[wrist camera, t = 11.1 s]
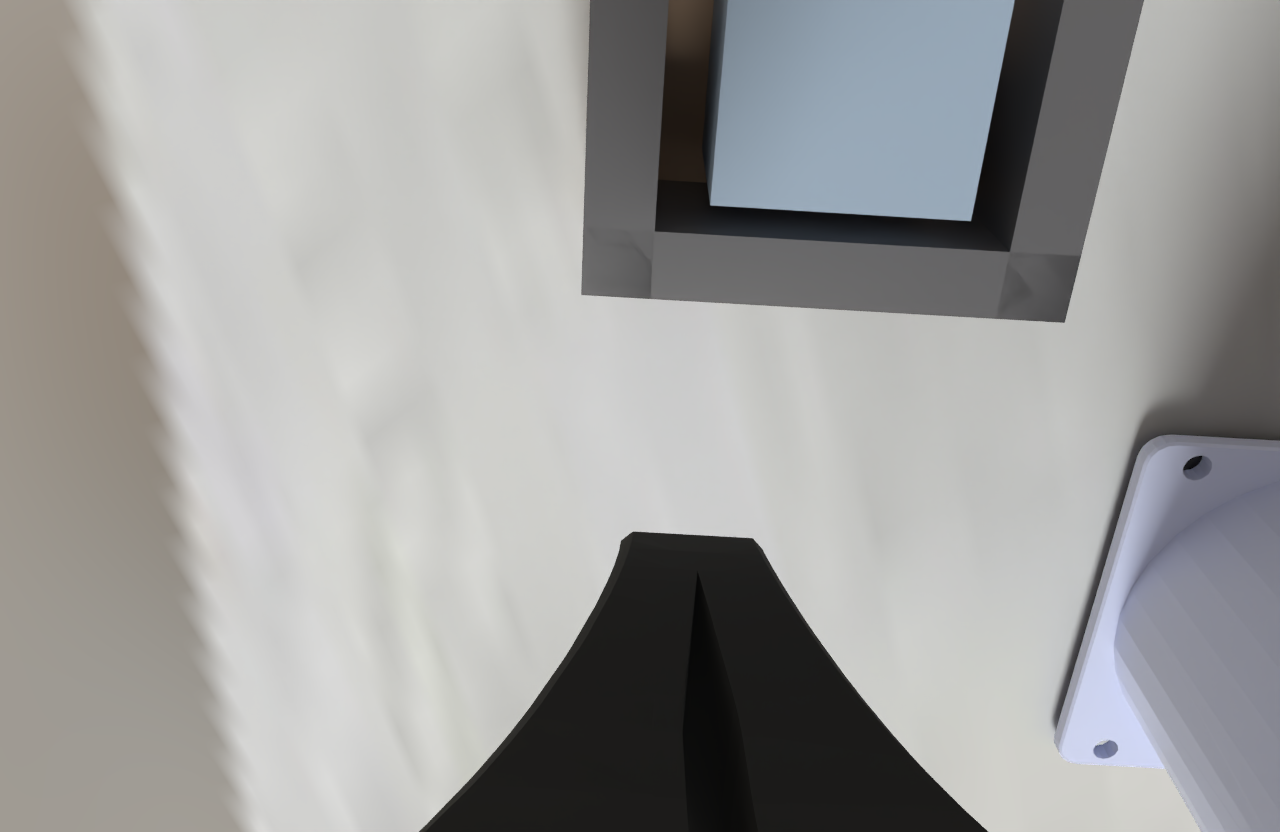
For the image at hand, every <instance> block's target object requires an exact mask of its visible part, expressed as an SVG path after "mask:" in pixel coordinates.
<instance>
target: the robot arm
mask: <svg viewBox="0 0 1280 832" xmlns="http://www.w3.org/2000/svg"><path fill="white" fill-rule="evenodd" d="M1196 456H1202V460H1201V461H1200V463H1199V465H1197V466H1196V467H1194V468H1193V469H1189V470H1183V467H1184V465H1185V464H1186V462H1187V461H1188V460H1190V459H1191V458H1193V457H1196ZM1105 740H1109V741H1108V742H1106V743H1105V744H1103V745H1097V746H1096V744H1098V743H1099V742H1101V741H1105ZM1054 743H1055V745H1056V747H1057V749H1058V751H1059V753H1060V755H1061V757H1062V758H1063V759H1065V760H1066V761H1068V762H1071V763H1075V764H1090V765H1108V766H1126V767H1145V768H1163V769H1166V771H1167V772H1168V774H1169V776H1170V778H1171V779H1172V781H1173V783H1174V785H1175V786H1176V788H1177V790H1178V792H1179V793H1180V795H1181V797H1182V799H1183V800H1184V802H1185V804H1186V806H1187V807H1188V809H1189V811H1190V813H1191V814H1192V816H1193V818H1194V820H1195V821H1196V823H1197V825H1198V827H1199V828H1200V830H1201V832H1280V441H1276V440H1258V439H1241V438H1223V437H1206V436H1188V435H1162V436H1158V437H1156V438H1154V439H1152V440H1150V441H1148V442H1147V443H1146V444H1145V445H1144V446H1143V447H1142V448H1141V450H1140V452H1139V454H1138V456H1137V459H1136V462H1135V466H1134V469H1133V472H1132V476H1131V479H1130V482H1129V486H1128V489H1127V493H1126V496H1125V499H1124V503H1123V506H1122V509H1121V513H1120V516H1119V520H1118V523H1117V526H1116V530H1115V533H1114V536H1113V540H1112V543H1111V547H1110V550H1109V553H1108V557H1107V560H1106V563H1105V567H1104V570H1103V574H1102V577H1101V580H1100V584H1099V587H1098V590H1097V594H1096V597H1095V601H1094V604H1093V607H1092V611H1091V614H1090V617H1089V621H1088V624H1087V628H1086V631H1085V634H1084V638H1083V641H1082V644H1081V648H1080V651H1079V655H1078V658H1077V661H1076V665H1075V668H1074V671H1073V675H1072V678H1071V682H1070V685H1069V688H1068V692H1067V695H1066V698H1065V702H1064V705H1063V709H1062V712H1061V715H1060V719H1059V722H1058V725H1057V729H1056V732H1055V736H1054ZM419 832H988V831H987V830H986V829H985V828H984V827H982V826H981V825H980V824H979V823H978V822H977V821H976V820H975V819H974V818H973V817H972V816H970V815H969V814H968V813H967V812H966V811H965V810H964V809H963V808H962V807H961V806H960V805H959V804H958V803H957V802H956V801H955V800H954V799H953V798H952V797H951V796H950V795H949V794H948V793H947V792H946V791H945V790H944V789H943V788H942V787H941V786H940V785H939V784H938V783H937V782H936V781H935V780H934V779H933V778H932V777H931V776H930V775H929V774H928V773H927V772H926V771H925V770H924V769H923V768H922V767H921V766H920V765H919V764H918V762H917V761H916V760H915V759H914V758H913V757H912V756H911V755H910V754H909V753H908V751H907V750H906V749H905V748H904V747H903V746H902V745H901V744H900V742H899V741H898V740H897V739H896V738H895V737H894V736H893V735H892V733H891V732H890V731H889V730H888V729H887V727H886V726H885V725H884V724H883V723H882V721H881V720H880V719H879V718H878V717H877V715H876V714H875V713H874V712H873V711H872V709H871V708H870V707H869V706H868V705H867V703H866V702H865V701H864V700H863V698H862V697H861V696H860V695H859V693H858V692H857V691H856V689H855V688H854V687H853V686H852V684H851V683H850V682H849V681H848V679H847V678H846V677H845V675H844V674H843V673H842V671H841V670H840V668H839V667H838V666H837V664H836V663H835V662H834V660H833V659H832V657H831V656H830V655H829V653H828V652H827V651H826V649H825V648H824V646H823V645H822V644H821V642H820V641H819V640H818V638H817V637H816V635H815V634H814V632H813V631H812V630H811V628H810V627H809V625H808V624H807V622H806V621H805V619H804V618H803V616H802V615H801V613H800V612H799V610H798V609H797V607H796V605H795V604H794V602H793V601H792V599H791V598H790V596H789V595H788V593H787V591H786V590H785V588H784V586H783V585H782V583H781V582H780V580H779V578H778V576H777V575H776V573H775V571H774V570H773V568H772V566H771V564H770V563H769V561H768V559H767V557H766V555H765V554H764V552H763V550H762V548H761V547H760V546H759V545H758V544H757V543H756V542H755V540H754V539H753V538H737V537H719V536H701V535H683V534H666V533H648V532H632V533H631V534H629V535H628V536H627V537H625V538H624V539H623V540H621V544H620V550H619V553H618V556H617V559H616V562H615V565H614V568H613V570H612V572H611V575H610V577H609V579H608V582H607V584H606V586H605V588H604V590H603V592H602V594H601V596H600V598H599V600H598V602H597V604H596V606H595V608H594V609H593V611H592V613H591V614H590V616H589V618H588V620H587V621H586V623H585V625H584V627H583V628H582V630H581V632H580V633H579V635H578V637H577V639H576V640H575V642H574V644H573V645H572V647H571V649H570V650H569V652H568V653H567V655H566V657H565V658H564V660H563V661H562V663H561V664H560V665H559V667H558V668H557V670H556V671H555V673H554V674H553V675H552V677H551V678H550V680H549V681H548V683H547V684H546V685H545V687H544V688H543V690H542V691H541V693H540V694H539V695H538V697H537V698H536V700H535V701H534V703H533V704H532V705H531V707H530V708H529V709H528V711H527V712H526V713H525V715H524V716H523V717H522V719H521V720H520V721H519V722H518V724H517V725H516V726H515V727H514V729H513V730H512V731H511V733H510V734H509V735H508V736H507V737H506V739H505V740H504V741H503V742H502V744H501V745H500V746H499V747H498V748H497V749H496V751H495V752H494V753H493V754H492V755H491V756H490V758H489V759H488V760H487V761H486V762H485V763H484V764H483V766H482V767H481V768H480V769H479V770H478V771H477V772H476V774H475V775H474V776H473V777H472V778H471V779H470V780H469V781H468V782H467V783H466V784H465V785H464V786H463V787H462V789H461V790H460V791H459V792H458V793H457V794H456V795H455V796H454V797H453V798H452V799H451V800H450V801H449V802H448V803H447V804H446V805H445V806H444V807H443V808H442V809H441V810H440V811H439V812H438V813H437V814H436V815H435V816H434V817H433V818H432V819H431V820H430V822H429V823H428V824H427V825H426V826H425V827H423V828H422V829H421V830H420V831H419Z"/></svg>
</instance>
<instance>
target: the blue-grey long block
mask: <svg viewBox="0 0 1280 832" xmlns="http://www.w3.org/2000/svg"><path fill="white" fill-rule="evenodd" d="M1014 1H1015V0H714V6H713V18H712V31H711V43H710V55H709V68H708V80H707V92H706V105H705V117H704V129H703V142H702V153H703V159H704V166H705V173H706V180H707V187H708V193H709V200H710V205H713V206H729V207H746V208H762V209H779V210H795V211H812V212H828V213H845V214H861V215H878V216H894V217H911V218H927V219H944V220H960V221H971V218H972V213H973V208H974V203H975V198H976V193H977V188H978V183H979V178H980V173H981V168H982V163H983V158H984V153H985V148H986V143H987V138H988V133H989V127H990V122H991V117H992V112H993V107H994V102H995V97H996V92H997V87H998V82H999V77H1000V72H1001V67H1002V62H1003V57H1004V52H1005V47H1006V42H1007V37H1008V32H1009V27H1010V22H1011V17H1012V12H1013V7H1014Z"/></svg>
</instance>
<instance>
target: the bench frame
mask: <svg viewBox="0 0 1280 832" xmlns="http://www.w3.org/2000/svg"><path fill="white" fill-rule="evenodd" d="M1143 2H1144V0H1015V1H1014V7H1013V12H1012V17H1011V22H1010V27H1009V32H1008V37H1007V42H1006V47H1005V52H1004V57H1003V62H1002V67H1001V72H1000V77H999V82H998V87H997V92H996V97H995V102H994V107H993V112H992V117H991V122H990V127H989V133H988V138H987V143H986V148H985V153H984V158H983V163H982V168H981V173H980V178H979V183H978V188H977V193H976V198H975V203H974V208H973V213H972V218H971V221H960V220H944V219H927V218H911V217H894V216H878V215H861V214H845V213H828V212H812V211H795V210H779V209H762V208H746V207H729V206H713V205H710V200H709V193H708V187H707V180H706V173H705V166H704V159H703V153H702V142H703V129H704V117H705V105H706V92H707V80H708V68H709V55H710V43H711V31H712V18H713V6H714V0H590V30H589V63H588V95H587V128H586V161H585V194H584V227H583V260H582V292H581V295H592V296H610V297H627V298H645V299H662V300H679V301H697V302H714V303H732V304H749V305H767V306H784V307H801V308H819V309H836V310H854V311H871V312H889V313H906V314H923V315H941V316H958V317H976V318H993V319H1010V320H1028V321H1045V322H1063V323H1065V319H1066V314H1067V310H1068V306H1069V302H1070V298H1071V294H1072V290H1073V286H1074V282H1075V278H1076V274H1077V270H1078V266H1079V262H1080V258H1081V254H1082V249H1083V245H1084V241H1085V237H1086V233H1087V229H1088V225H1089V221H1090V217H1091V213H1092V209H1093V205H1094V201H1095V197H1096V193H1097V189H1098V185H1099V180H1100V176H1101V172H1102V168H1103V164H1104V160H1105V156H1106V152H1107V148H1108V144H1109V140H1110V136H1111V132H1112V128H1113V124H1114V120H1115V115H1116V111H1117V107H1118V103H1119V99H1120V95H1121V91H1122V87H1123V83H1124V79H1125V75H1126V71H1127V67H1128V63H1129V59H1130V55H1131V50H1132V46H1133V42H1134V38H1135V34H1136V30H1137V26H1138V22H1139V18H1140V14H1141V10H1142V6H1143Z"/></svg>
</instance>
